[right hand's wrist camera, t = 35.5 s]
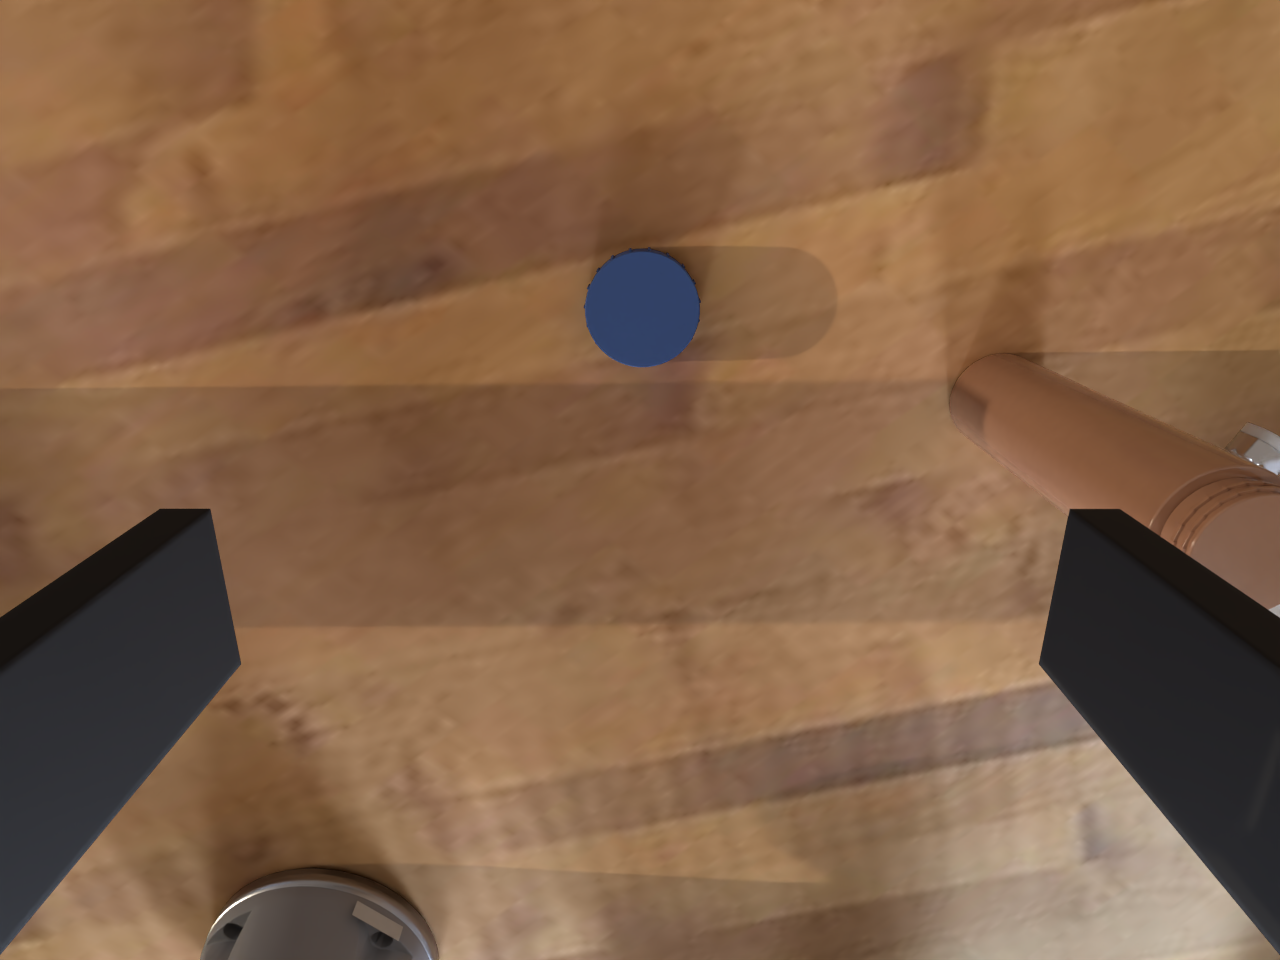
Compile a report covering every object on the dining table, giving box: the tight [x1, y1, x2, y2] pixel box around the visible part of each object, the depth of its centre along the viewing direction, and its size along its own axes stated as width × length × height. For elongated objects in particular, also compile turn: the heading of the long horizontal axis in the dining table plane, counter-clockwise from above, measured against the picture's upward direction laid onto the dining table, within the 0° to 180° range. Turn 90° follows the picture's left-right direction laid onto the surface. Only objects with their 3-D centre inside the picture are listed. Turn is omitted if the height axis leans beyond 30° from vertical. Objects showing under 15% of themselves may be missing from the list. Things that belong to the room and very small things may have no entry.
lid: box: [584, 247, 701, 367], centre depth 39 cm, size 6×6×2 cm
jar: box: [950, 353, 1280, 610], centre depth 33 cm, size 5×5×19 cm
